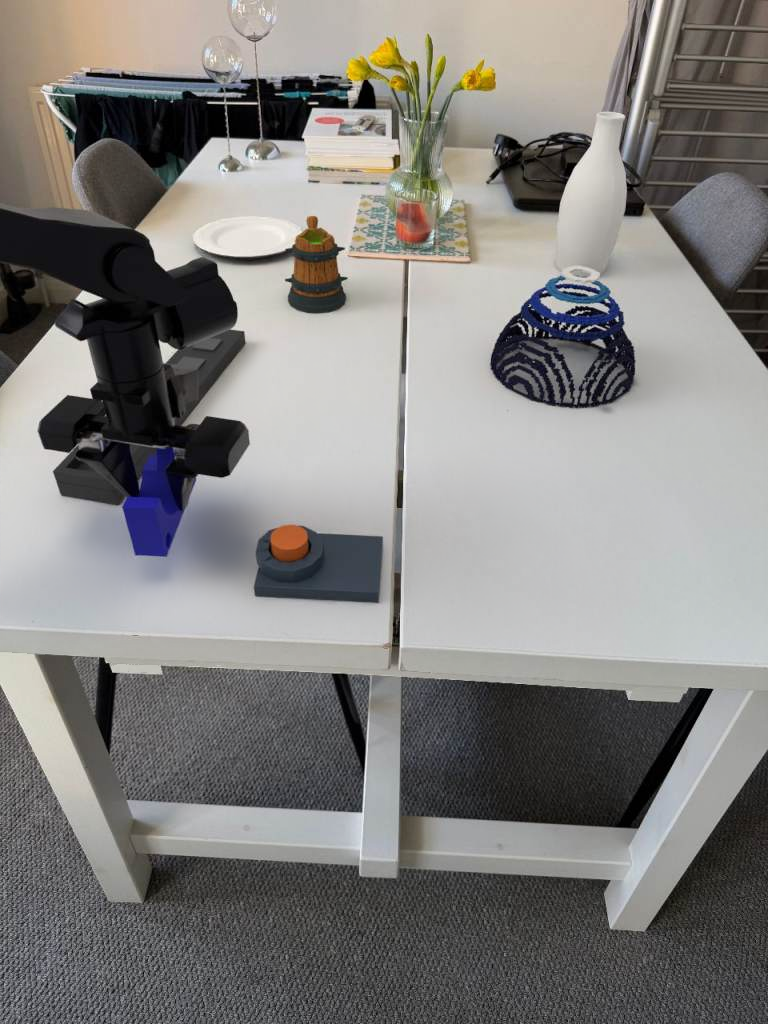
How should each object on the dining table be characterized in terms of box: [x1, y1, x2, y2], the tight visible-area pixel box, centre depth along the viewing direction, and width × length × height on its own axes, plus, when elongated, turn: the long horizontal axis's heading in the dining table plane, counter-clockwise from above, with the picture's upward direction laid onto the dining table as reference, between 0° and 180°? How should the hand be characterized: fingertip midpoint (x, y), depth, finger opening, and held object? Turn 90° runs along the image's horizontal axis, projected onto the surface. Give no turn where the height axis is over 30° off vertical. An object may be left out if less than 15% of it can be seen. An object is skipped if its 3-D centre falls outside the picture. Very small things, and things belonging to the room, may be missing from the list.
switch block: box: [253, 525, 384, 603], centre depth 73 cm, size 12×8×3 cm, turn 87°
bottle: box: [554, 111, 628, 277], centre depth 126 cm, size 11×11×25 cm
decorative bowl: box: [489, 265, 637, 409], centre depth 101 cm, size 20×20×14 cm
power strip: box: [52, 329, 246, 506], centre depth 94 cm, size 39×7×3 cm, turn 167°
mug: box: [284, 215, 348, 314], centre depth 119 cm, size 13×10×12 cm
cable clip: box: [121, 447, 197, 558], centre depth 72 cm, size 12×4×6 cm, turn 178°
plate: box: [192, 215, 304, 260], centre depth 139 cm, size 21×21×2 cm
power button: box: [270, 524, 308, 562], centre depth 71 cm, size 4×4×2 cm
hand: (160, 504), depth 74 cm, fingers closed on cable clip, 5 cm apart
